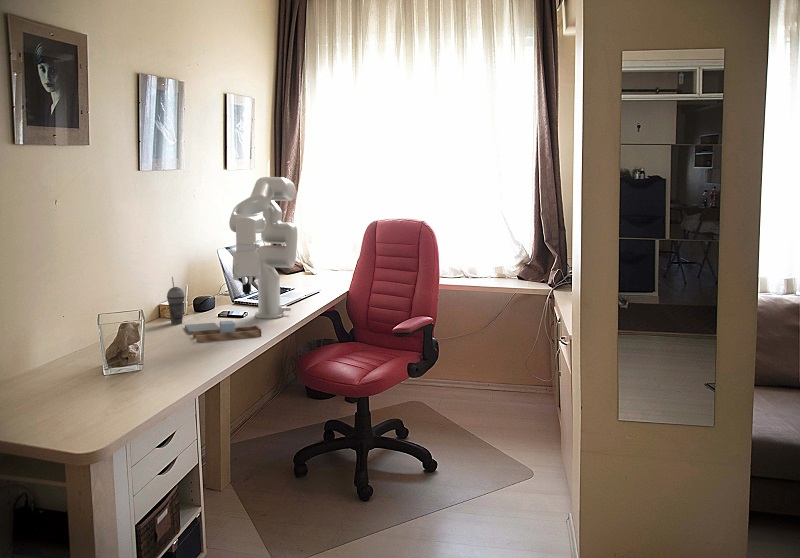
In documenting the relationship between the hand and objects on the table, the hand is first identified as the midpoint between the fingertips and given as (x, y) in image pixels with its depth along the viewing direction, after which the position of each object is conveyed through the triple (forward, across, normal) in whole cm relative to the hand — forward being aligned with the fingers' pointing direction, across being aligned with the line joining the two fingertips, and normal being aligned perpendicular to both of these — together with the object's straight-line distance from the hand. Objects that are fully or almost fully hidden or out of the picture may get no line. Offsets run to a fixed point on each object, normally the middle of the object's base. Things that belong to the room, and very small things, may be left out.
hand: (246, 293), depth 285 cm
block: (+17, +8, 0) cm, 19 cm away
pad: (+17, +15, -15) cm, 27 cm away
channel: (+17, +8, 0) cm, 19 cm away
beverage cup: (+17, +23, -30) cm, 41 cm away
